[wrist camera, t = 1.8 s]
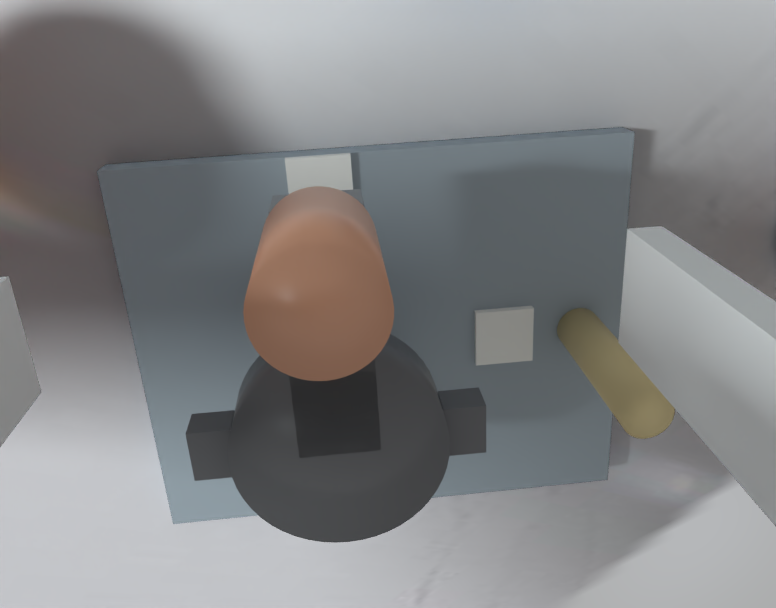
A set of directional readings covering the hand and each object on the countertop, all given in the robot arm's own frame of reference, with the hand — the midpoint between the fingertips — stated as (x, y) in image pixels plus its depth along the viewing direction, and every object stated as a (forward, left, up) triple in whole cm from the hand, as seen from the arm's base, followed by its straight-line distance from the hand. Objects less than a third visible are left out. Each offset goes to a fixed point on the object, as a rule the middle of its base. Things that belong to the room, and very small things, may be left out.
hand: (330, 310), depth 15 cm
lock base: (+2, -7, -14) cm, 15 cm away
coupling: (0, -4, -7) cm, 8 cm away
